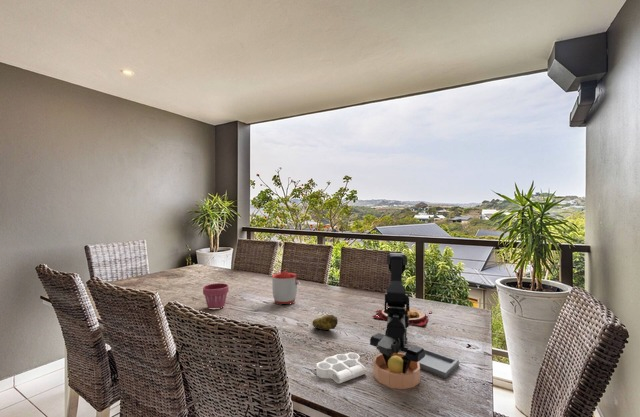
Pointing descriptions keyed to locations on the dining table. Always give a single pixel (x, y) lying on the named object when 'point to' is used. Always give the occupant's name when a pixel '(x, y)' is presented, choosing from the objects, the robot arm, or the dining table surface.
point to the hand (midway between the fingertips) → (396, 370)
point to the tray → (438, 364)
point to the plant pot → (215, 294)
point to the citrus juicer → (284, 287)
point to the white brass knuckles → (341, 367)
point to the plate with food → (413, 315)
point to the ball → (395, 364)
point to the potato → (325, 322)
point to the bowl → (395, 379)
